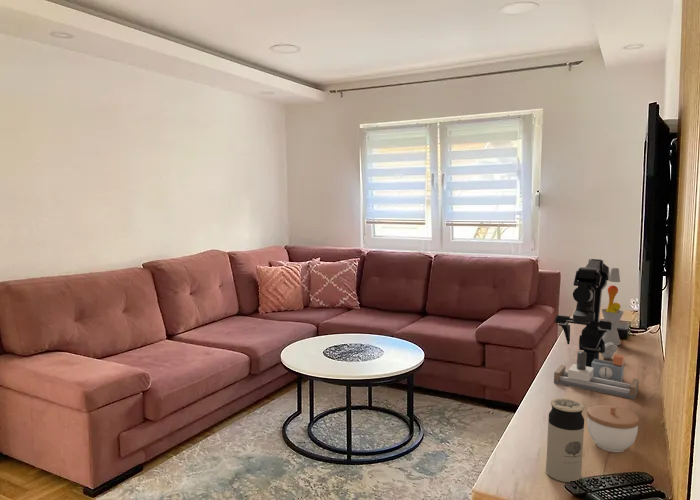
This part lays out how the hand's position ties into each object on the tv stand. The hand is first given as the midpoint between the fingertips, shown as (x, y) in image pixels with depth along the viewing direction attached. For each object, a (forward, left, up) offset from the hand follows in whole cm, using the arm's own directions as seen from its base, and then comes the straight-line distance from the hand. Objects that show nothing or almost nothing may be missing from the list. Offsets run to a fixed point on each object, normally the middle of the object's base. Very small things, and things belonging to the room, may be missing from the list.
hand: (581, 346), depth 188 cm
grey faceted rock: (-38, +3, -14) cm, 41 cm away
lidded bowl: (+46, +17, -14) cm, 51 cm away
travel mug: (+69, +10, -14) cm, 71 cm away
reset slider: (-11, +11, -7) cm, 17 cm away
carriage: (0, 0, -11) cm, 11 cm away
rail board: (0, +5, -14) cm, 15 cm away
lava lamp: (-65, 0, -14) cm, 67 cm away
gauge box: (-11, +7, -14) cm, 19 cm away
